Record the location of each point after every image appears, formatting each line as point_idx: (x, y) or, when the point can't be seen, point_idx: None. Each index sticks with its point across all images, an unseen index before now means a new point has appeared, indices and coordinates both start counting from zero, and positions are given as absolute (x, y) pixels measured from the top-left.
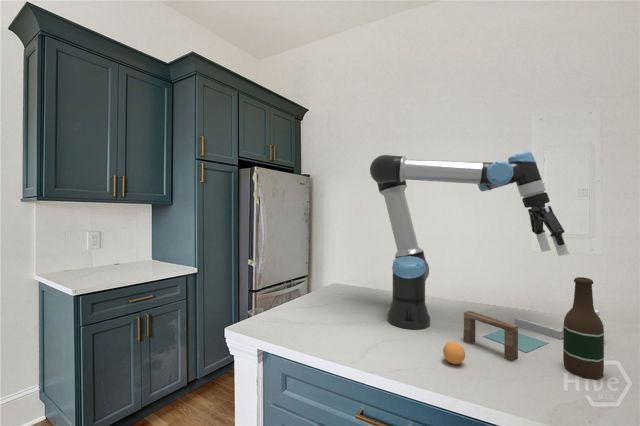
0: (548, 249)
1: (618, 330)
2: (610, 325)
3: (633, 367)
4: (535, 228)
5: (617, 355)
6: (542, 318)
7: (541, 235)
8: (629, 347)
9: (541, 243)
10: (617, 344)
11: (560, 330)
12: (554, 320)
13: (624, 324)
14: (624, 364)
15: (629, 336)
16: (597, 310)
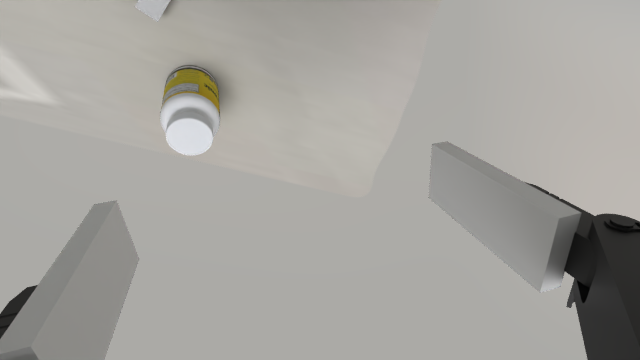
0: (433, 188)
1: (312, 165)
2: (345, 161)
3: (28, 120)
4: (635, 287)
5: (102, 113)
6: (359, 7)
7: (532, 246)
8: None
9: (474, 183)
10: None
11: (155, 12)
12: (347, 42)
13: (361, 186)
14: (34, 108)
15: (276, 172)
16: (193, 152)
